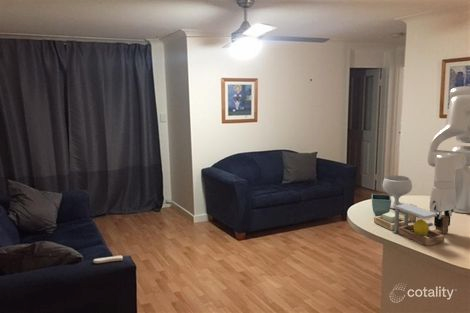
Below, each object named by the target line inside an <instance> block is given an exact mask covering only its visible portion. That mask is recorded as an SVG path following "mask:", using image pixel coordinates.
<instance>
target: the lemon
mask: <svg viewBox="0 0 470 313" xmlns="http://www.w3.org/2000/svg"><path fill="white" fill-rule="evenodd" d="M427 223H428V222H427V221H426V220H424V219H423V218H421V219H417V220H416V221H414V223H413V224H414V231H413V233H416V234H418V235H421V236H423V237H426V235H427V234H428V230H430V229H429V226H428V224H427Z"/></svg>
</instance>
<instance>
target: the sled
mask: <svg viewBox="0 0 470 313" xmlns="http://www.w3.org/2000/svg"><path fill="white" fill-rule="evenodd" d="M409 204H410V205H413V206H416V207H418V206H417V205H415V204H412V203H409ZM416 221H417V216H415V215H413V214H410V213H409V215H408V223H409V222H411V223H412V222H416ZM373 223H375V224H376V225H379V226H382V227H384V228H385V229H388V230H390V231H395V223H393V224H392V223H390V222H387V221H385V220H382V215H381V216H374V217H373ZM402 226H404V217H402V218H401V217H399V227H402Z"/></svg>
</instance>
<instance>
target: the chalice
mask: <svg viewBox="0 0 470 313" xmlns="http://www.w3.org/2000/svg"><path fill="white" fill-rule="evenodd" d="M382 189H383V192H386V193H387V194H388V195H391V197H393V198H394V201H391V207H390V210H391V209H392V210H395V206H397V205H402V204H407V203H406V202H401V201H399V199H400V198H401V197H402V196H406V195H407V194H409V193H410V192H411V191H412V190H413V185H412V180H411V178H410V177H408V176H405V175H395V174H394V175H393V174H392V175H387V176H385V177H384V179H383V182H382Z"/></svg>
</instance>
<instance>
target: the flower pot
mask: <svg viewBox="0 0 470 313" xmlns="http://www.w3.org/2000/svg"><path fill="white" fill-rule="evenodd" d="M391 202H392V195H391V194H379V193H378V194H376V193H375V194H374V193H372V194H371V206H372V208H371V209H372V211H373V214H374V215H375V217H377V216H381V215H382V214H385V213H388V212H390V211H391V208H390V207H391Z"/></svg>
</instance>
